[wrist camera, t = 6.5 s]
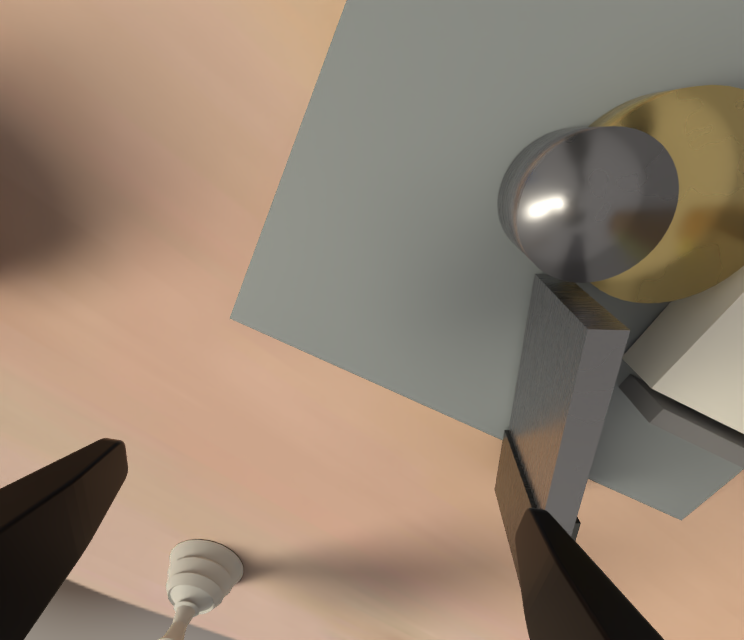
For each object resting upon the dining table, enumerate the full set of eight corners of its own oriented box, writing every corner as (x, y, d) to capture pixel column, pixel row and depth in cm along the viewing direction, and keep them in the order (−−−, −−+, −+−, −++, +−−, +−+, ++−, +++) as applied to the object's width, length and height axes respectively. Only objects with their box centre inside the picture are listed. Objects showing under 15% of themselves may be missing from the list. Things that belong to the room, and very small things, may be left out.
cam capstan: (463, 485, 22) (481, 586, 17) (510, 93, 14) (567, 72, 9) (635, 493, 21) (705, 599, 16) (779, 89, 14) (991, 65, 9)
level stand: (491, -374, 11) (533, -609, 7) (1138, 111, 14) (1371, 104, 11) (236, 311, 19) (201, 348, 16) (672, 508, 23) (719, 572, 19)
